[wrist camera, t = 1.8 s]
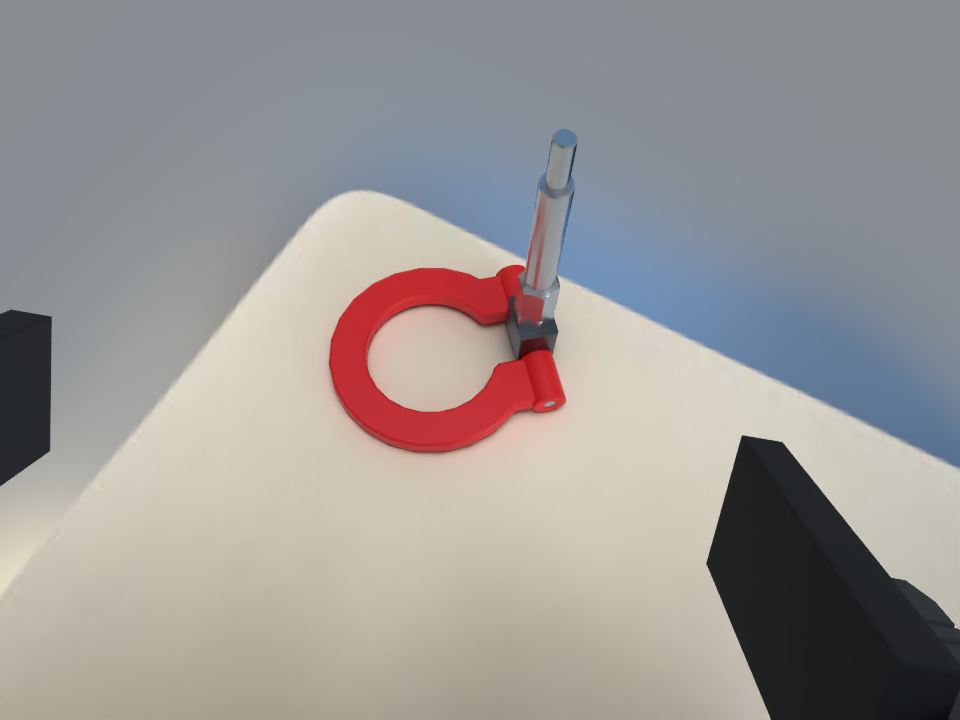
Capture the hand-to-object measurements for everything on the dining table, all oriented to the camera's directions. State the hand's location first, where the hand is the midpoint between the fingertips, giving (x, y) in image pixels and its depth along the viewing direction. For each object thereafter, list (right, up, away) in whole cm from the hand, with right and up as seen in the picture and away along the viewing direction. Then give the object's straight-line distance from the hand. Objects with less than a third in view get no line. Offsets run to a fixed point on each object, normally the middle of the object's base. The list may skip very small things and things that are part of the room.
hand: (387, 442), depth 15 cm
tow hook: (0, +1, +20) cm, 20 cm away
